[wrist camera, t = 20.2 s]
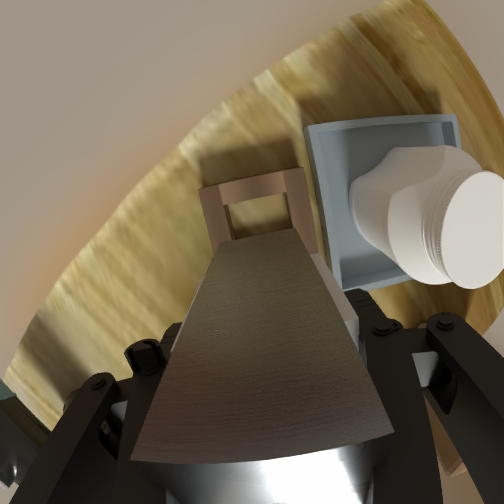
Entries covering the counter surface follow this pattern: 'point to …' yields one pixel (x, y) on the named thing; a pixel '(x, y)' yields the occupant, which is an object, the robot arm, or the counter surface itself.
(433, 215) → the jar
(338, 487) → the grey block
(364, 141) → the tray
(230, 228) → the hollow square tube
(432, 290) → the counter surface
